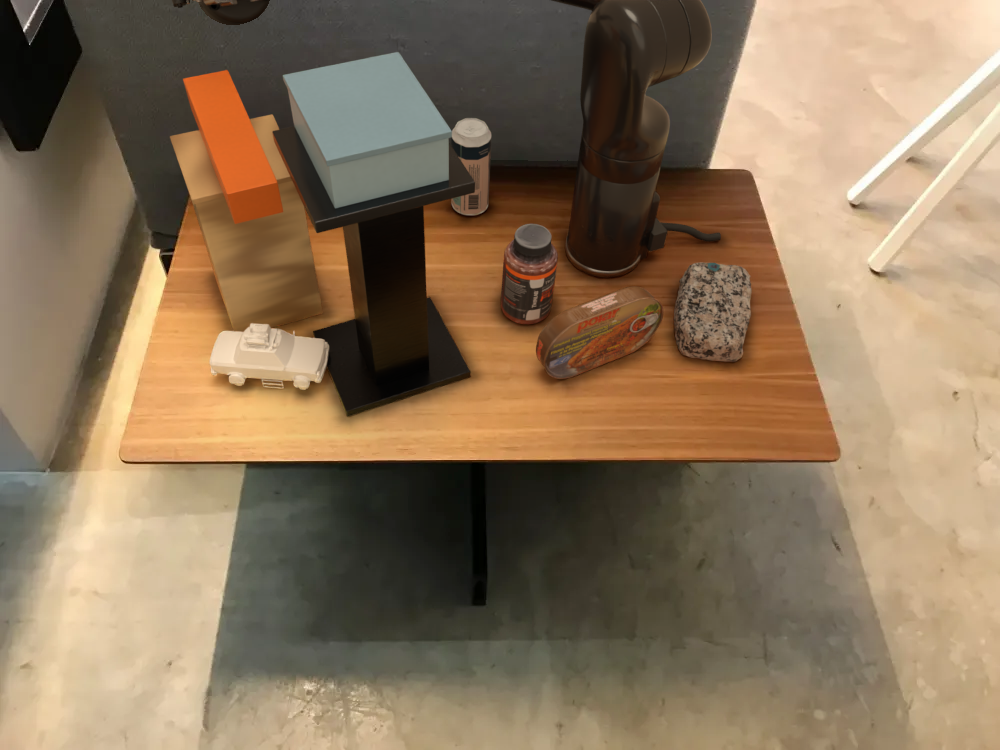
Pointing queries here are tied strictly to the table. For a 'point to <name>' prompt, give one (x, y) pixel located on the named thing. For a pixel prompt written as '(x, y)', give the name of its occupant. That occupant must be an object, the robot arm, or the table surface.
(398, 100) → the storage tub
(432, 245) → the table surface
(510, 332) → the table surface
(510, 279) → the supplement bottle
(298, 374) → the toy car
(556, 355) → the tin
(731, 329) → the rock
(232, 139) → the orange rectangular bar
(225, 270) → the box
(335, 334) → the shelf stand
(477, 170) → the beer can
